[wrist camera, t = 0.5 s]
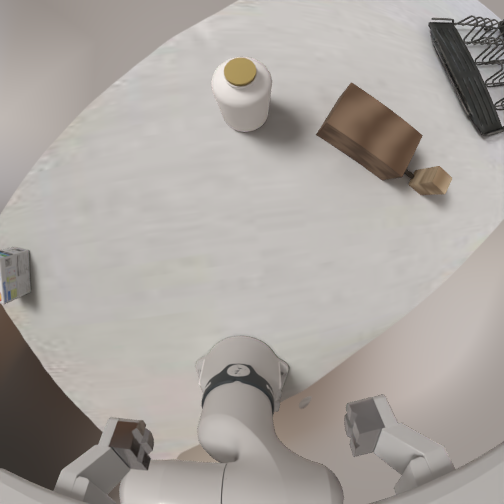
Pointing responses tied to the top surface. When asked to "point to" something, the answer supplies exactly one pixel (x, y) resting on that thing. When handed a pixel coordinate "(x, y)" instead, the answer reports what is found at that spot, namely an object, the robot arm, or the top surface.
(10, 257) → the light bulb box
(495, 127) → the dish rack
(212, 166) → the top surface
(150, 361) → the top surface
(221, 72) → the potion bottle
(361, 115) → the cubby
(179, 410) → the top surface
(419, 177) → the tethered block
